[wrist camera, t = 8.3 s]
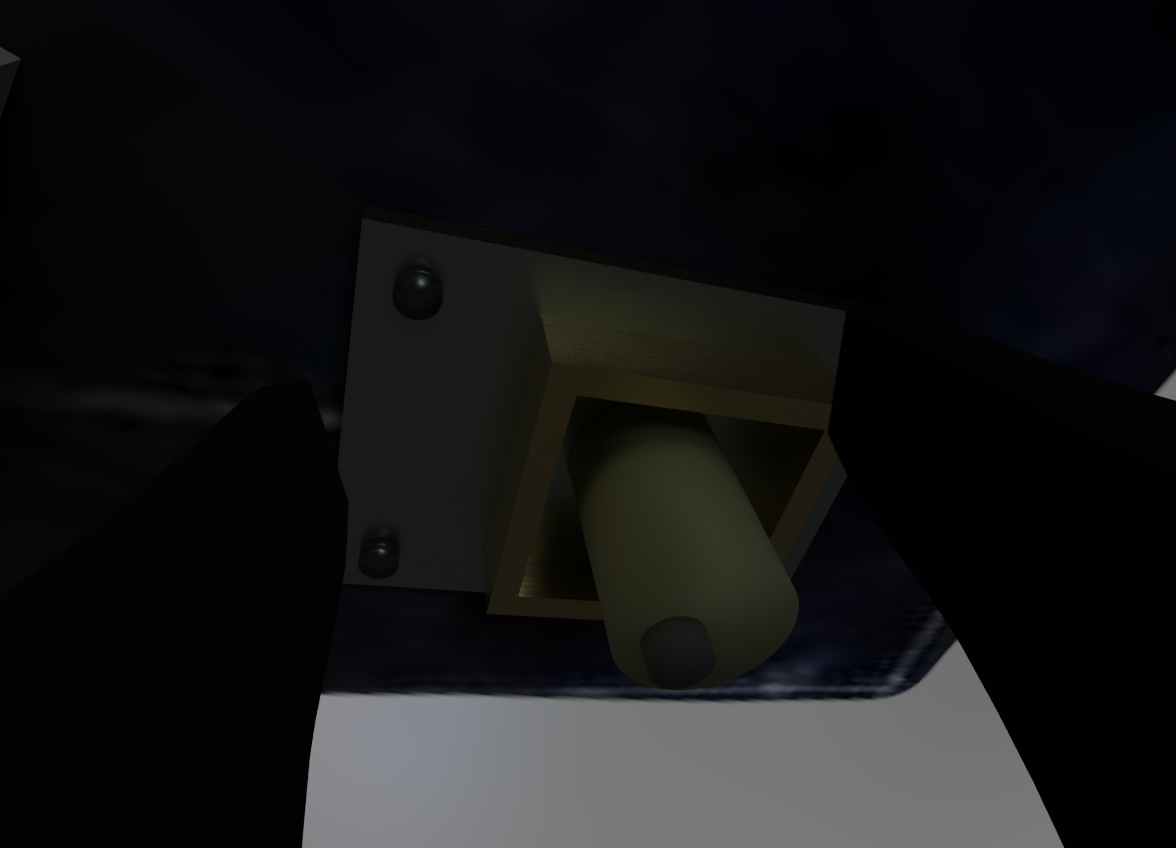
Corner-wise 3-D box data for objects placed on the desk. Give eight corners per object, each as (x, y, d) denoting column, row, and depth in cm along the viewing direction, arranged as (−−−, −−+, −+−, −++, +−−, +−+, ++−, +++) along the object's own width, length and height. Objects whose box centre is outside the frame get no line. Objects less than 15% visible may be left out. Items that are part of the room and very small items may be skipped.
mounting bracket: (911, 312, 23) (979, 369, 20) (764, 591, 29) (799, 665, 26) (365, 205, 18) (351, 258, 15) (330, 560, 24) (315, 645, 22)
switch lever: (705, 379, 21) (807, 563, 16) (723, 494, 24) (816, 686, 18) (552, 424, 21) (597, 623, 16) (588, 533, 24) (637, 737, 18)
